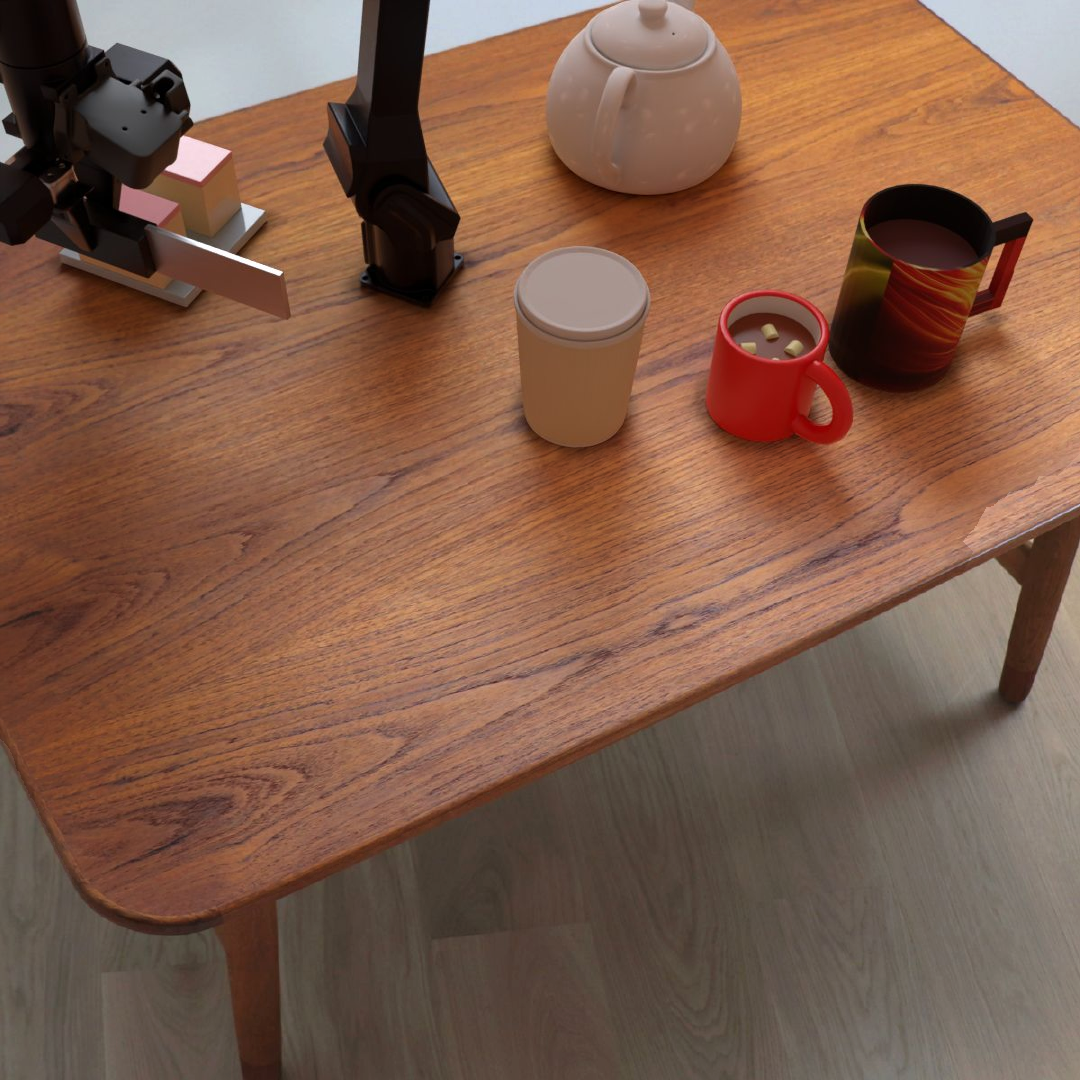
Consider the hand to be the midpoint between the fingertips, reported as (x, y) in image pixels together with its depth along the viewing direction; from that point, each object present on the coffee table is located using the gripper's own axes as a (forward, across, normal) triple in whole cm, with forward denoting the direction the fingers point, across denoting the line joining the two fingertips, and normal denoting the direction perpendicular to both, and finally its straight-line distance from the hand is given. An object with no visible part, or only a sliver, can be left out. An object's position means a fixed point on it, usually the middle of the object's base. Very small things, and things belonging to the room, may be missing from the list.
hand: (98, 239), depth 97 cm
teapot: (+10, +41, -25) cm, 49 cm away
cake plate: (+10, +11, +4) cm, 15 cm away
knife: (+1, 0, -6) cm, 6 cm away
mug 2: (+10, +29, -53) cm, 61 cm away
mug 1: (+10, +16, -48) cm, 51 cm away
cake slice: (+9, +7, +4) cm, 12 cm away
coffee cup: (+10, +9, -34) cm, 36 cm away
